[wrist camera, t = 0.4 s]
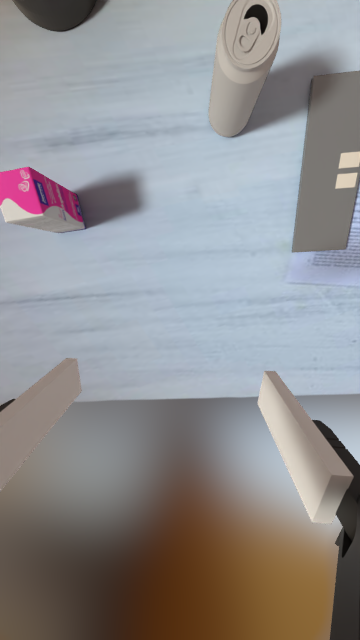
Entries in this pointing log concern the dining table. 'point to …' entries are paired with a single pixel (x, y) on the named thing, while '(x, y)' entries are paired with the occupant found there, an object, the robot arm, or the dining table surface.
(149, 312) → the dining table surface
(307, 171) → the slate board
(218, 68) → the beverage can
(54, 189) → the supplement box
